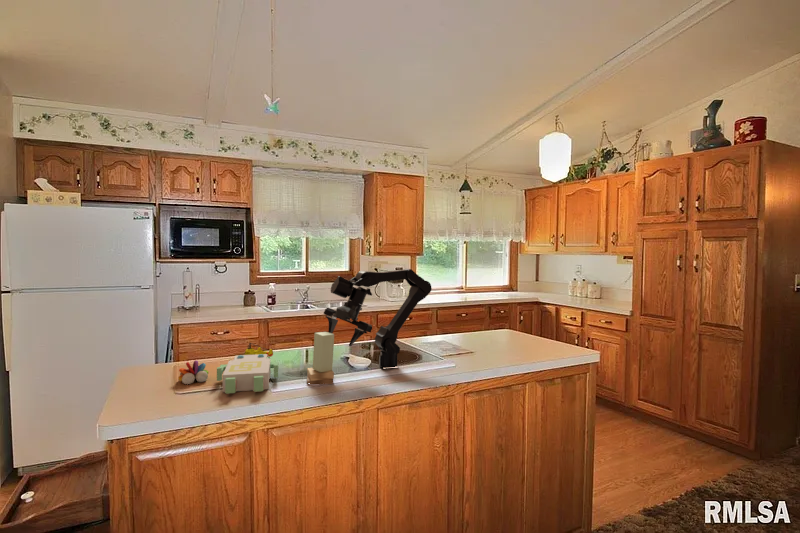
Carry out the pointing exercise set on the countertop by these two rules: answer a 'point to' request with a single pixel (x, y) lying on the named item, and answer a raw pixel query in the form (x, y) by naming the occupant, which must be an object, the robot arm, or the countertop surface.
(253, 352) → the toy helicopter
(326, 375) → the upper slab
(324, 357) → the pillar
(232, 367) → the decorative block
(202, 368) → the rainbow peg wheeled toy
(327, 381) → the lower slab
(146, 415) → the countertop surface
